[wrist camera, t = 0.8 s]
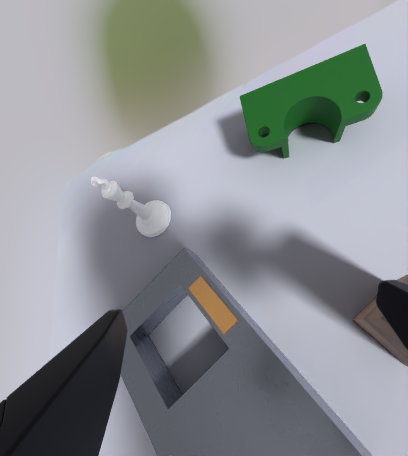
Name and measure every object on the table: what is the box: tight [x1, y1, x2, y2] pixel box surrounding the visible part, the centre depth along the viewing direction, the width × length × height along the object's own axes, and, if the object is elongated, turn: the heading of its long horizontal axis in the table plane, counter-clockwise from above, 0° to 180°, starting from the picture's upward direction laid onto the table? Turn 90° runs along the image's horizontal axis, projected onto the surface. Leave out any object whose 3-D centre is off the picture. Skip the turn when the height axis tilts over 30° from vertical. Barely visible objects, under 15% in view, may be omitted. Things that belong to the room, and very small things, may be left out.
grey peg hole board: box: [121, 248, 372, 456], centre depth 20 cm, size 20×12×3 cm, turn 41°
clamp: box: [240, 44, 382, 158], centre depth 24 cm, size 12×6×9 cm, turn 89°
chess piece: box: [91, 176, 171, 237], centre depth 26 cm, size 5×5×10 cm
